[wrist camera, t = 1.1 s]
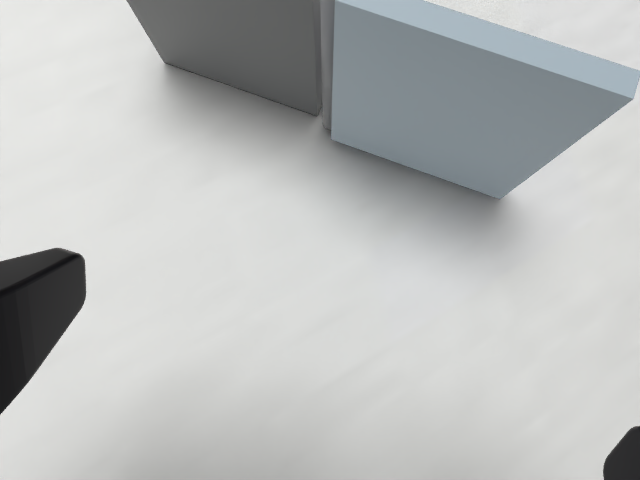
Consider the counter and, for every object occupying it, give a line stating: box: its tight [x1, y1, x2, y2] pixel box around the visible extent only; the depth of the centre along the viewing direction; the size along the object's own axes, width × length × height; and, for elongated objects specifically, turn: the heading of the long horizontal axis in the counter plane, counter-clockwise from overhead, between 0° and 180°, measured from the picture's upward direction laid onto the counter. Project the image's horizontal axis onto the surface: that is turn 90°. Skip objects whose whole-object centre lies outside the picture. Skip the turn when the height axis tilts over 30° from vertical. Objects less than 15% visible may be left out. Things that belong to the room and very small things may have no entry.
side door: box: [320, 0, 640, 199], centre depth 17 cm, size 1×9×9 cm, turn 69°
